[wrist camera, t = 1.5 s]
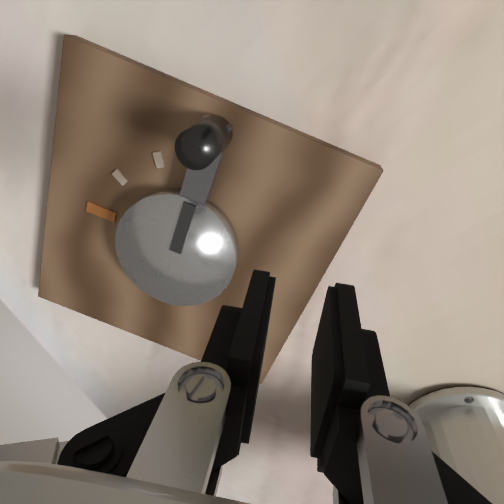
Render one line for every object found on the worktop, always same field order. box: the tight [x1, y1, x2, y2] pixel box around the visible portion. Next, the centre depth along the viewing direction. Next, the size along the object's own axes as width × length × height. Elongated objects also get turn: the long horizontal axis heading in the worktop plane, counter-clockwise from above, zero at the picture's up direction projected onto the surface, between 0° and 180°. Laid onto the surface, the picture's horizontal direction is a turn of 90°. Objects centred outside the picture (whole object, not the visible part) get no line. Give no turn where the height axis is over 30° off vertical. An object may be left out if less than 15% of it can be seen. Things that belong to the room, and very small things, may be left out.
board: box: [38, 35, 383, 384], centre depth 32 cm, size 24×24×2 cm
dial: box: [115, 114, 239, 306], centre depth 28 cm, size 16×10×6 cm, turn 159°
